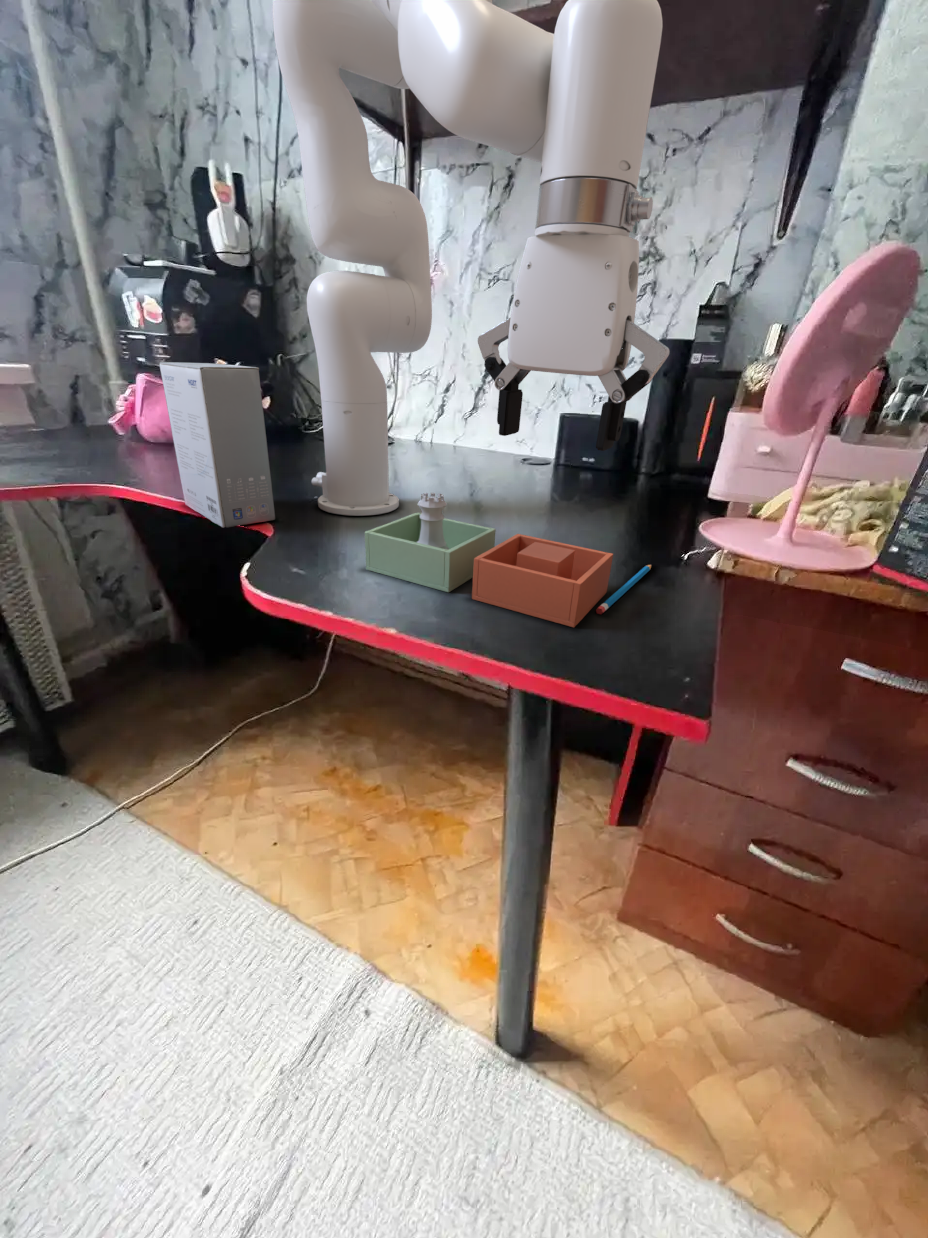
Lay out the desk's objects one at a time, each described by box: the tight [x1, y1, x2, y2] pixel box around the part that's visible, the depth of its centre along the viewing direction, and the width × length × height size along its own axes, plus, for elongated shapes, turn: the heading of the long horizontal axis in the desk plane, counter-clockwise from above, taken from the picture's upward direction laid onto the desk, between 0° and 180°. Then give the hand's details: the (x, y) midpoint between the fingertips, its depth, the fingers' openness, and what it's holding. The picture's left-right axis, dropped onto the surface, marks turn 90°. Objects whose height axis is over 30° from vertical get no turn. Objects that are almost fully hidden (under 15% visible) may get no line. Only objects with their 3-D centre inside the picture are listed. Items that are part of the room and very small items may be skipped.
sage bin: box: [364, 512, 497, 593], centre depth 63 cm, size 11×10×4 cm
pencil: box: [595, 564, 652, 615], centre depth 61 cm, size 1×17×1 cm, turn 146°
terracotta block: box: [516, 542, 575, 579], centre depth 57 cm, size 4×4×4 cm
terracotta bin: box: [471, 533, 614, 628], centre depth 57 cm, size 11×10×4 cm
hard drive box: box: [158, 361, 276, 529], centre depth 76 cm, size 16×8×20 cm, turn 43°
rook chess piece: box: [417, 492, 449, 550], centre depth 62 cm, size 4×4×8 cm
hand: (554, 440), depth 51 cm, fingers open, 9 cm apart
